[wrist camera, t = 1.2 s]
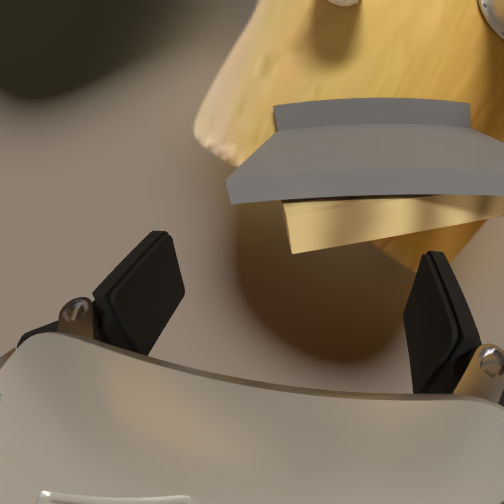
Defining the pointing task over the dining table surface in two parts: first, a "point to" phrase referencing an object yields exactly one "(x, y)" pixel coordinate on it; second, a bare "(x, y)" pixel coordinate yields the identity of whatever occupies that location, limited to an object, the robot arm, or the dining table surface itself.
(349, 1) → the white cup
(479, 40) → the dining table surface
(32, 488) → the robot arm
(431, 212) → the picture frame
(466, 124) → the board
